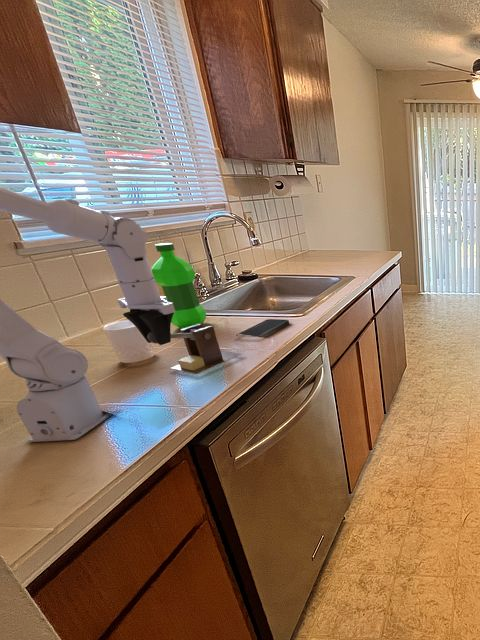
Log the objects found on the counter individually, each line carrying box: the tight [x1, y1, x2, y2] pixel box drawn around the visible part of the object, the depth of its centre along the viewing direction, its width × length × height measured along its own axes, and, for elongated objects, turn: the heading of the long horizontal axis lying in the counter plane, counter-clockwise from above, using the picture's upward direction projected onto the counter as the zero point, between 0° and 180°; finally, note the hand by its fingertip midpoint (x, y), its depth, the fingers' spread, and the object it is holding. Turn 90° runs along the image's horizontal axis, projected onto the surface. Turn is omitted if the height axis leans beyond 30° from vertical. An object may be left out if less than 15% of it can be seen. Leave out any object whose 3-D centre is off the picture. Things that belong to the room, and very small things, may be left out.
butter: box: [177, 355, 205, 370], centre depth 94 cm, size 3×4×2 cm
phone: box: [235, 318, 290, 339], centre depth 119 cm, size 8×1×15 cm
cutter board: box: [171, 324, 242, 375], centre depth 95 cm, size 12×9×10 cm
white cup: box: [102, 319, 156, 364], centre depth 98 cm, size 8×8×10 cm
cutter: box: [147, 329, 198, 345], centre depth 90 cm, size 12×3×3 cm, turn 158°
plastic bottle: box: [151, 242, 207, 329], centre depth 119 cm, size 10×10×25 cm
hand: (159, 342), depth 86 cm, fingers closed on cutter, 3 cm apart
